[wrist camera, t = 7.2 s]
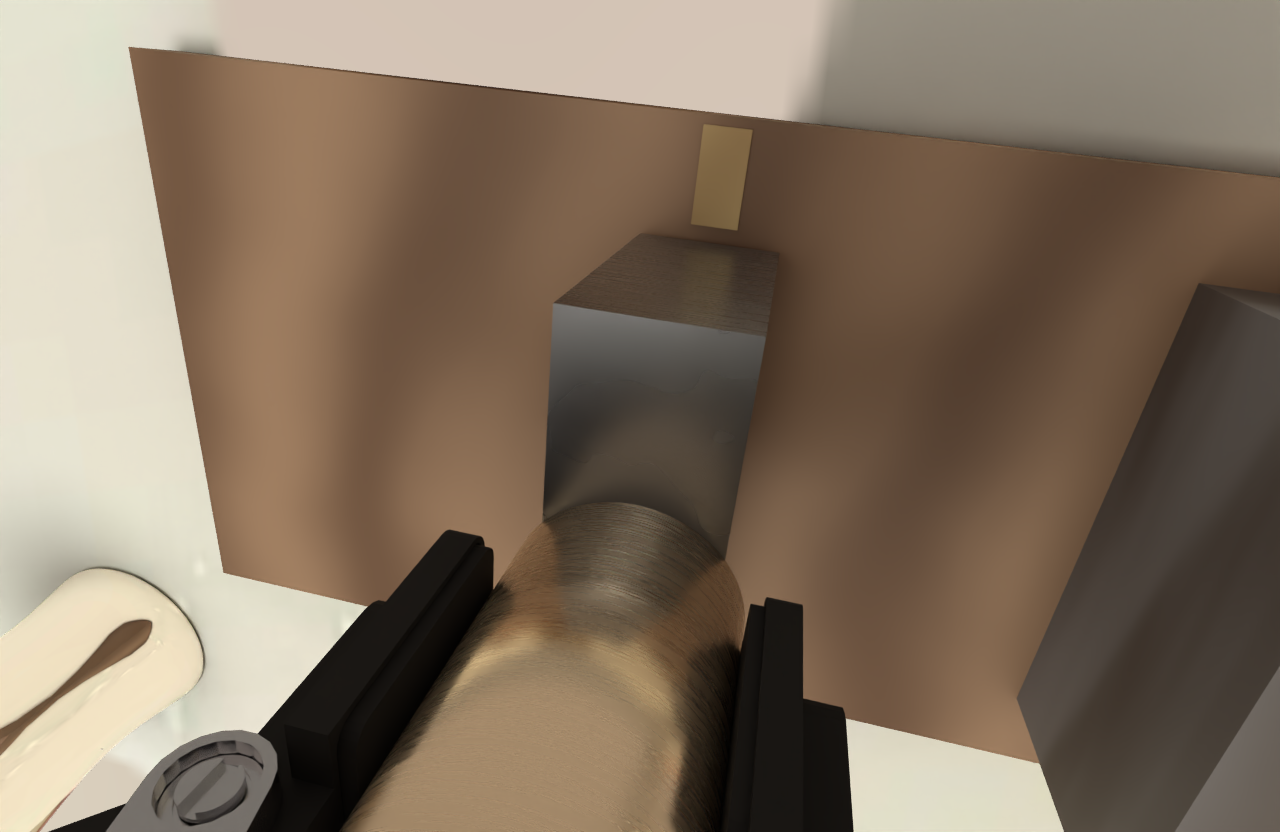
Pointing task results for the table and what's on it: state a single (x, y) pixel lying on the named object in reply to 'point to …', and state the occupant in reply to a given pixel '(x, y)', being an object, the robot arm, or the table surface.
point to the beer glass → (84, 685)
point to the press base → (775, 393)
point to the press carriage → (608, 575)
